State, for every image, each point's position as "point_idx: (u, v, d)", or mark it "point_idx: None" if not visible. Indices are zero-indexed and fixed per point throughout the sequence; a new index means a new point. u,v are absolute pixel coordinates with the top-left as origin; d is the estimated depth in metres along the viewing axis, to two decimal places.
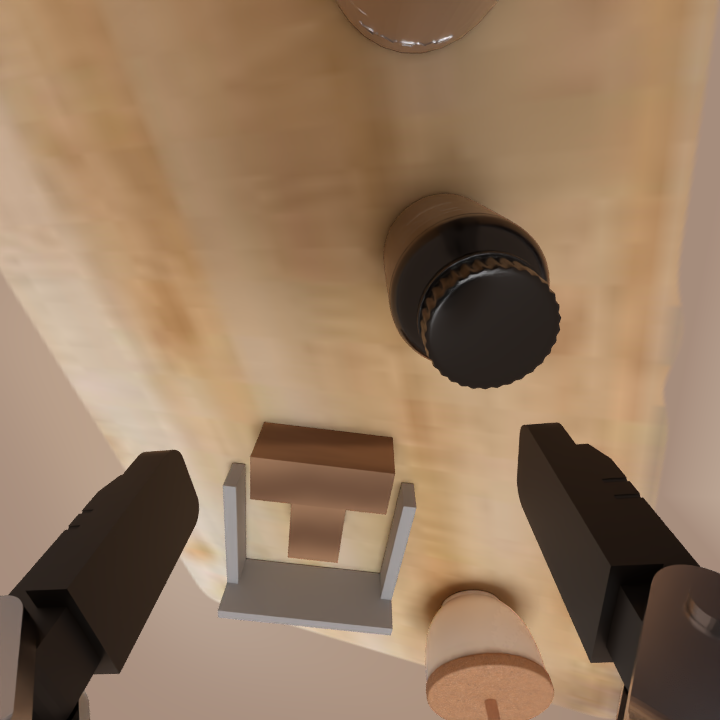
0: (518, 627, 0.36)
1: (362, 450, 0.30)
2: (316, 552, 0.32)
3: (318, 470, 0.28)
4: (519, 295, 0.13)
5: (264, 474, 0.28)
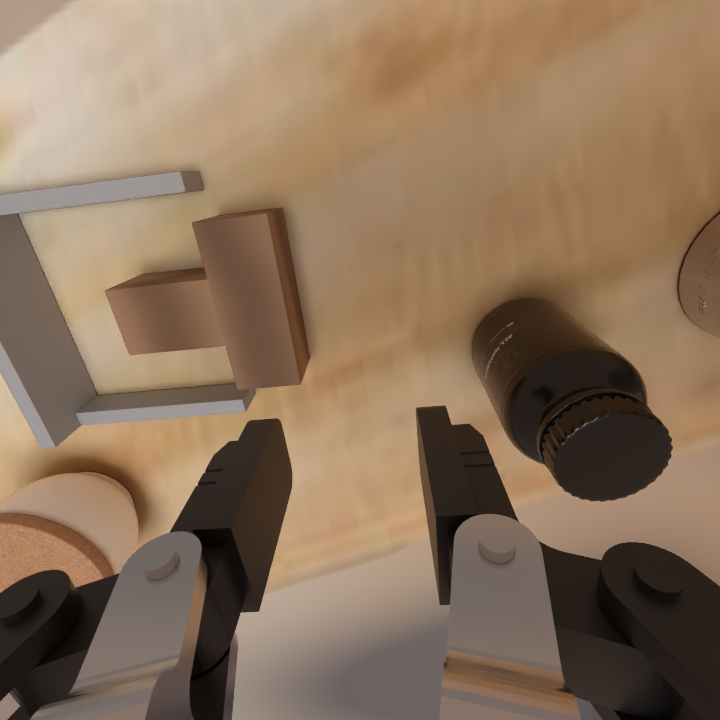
0: (131, 555, 0.32)
1: (299, 337, 0.26)
2: (133, 326, 0.24)
3: (275, 302, 0.23)
4: (646, 467, 0.17)
5: (243, 236, 0.21)
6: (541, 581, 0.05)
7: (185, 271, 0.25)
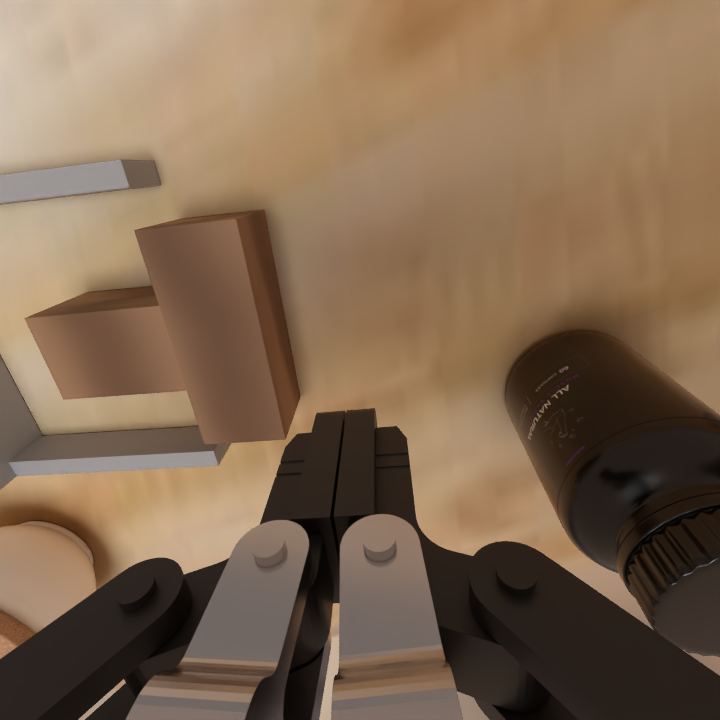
0: None
1: (285, 376, 0.20)
2: (66, 363, 0.18)
3: (250, 336, 0.17)
4: None
5: (205, 249, 0.15)
6: (410, 578, 0.05)
7: (139, 290, 0.20)
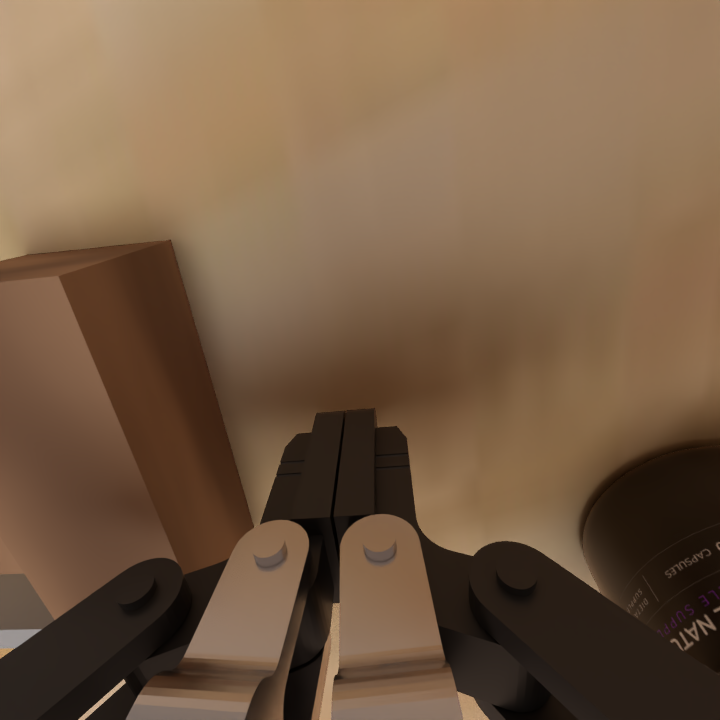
0: None
1: (219, 521, 0.12)
2: None
3: (125, 494, 0.09)
4: None
5: (4, 338, 0.07)
6: (409, 578, 0.05)
7: None
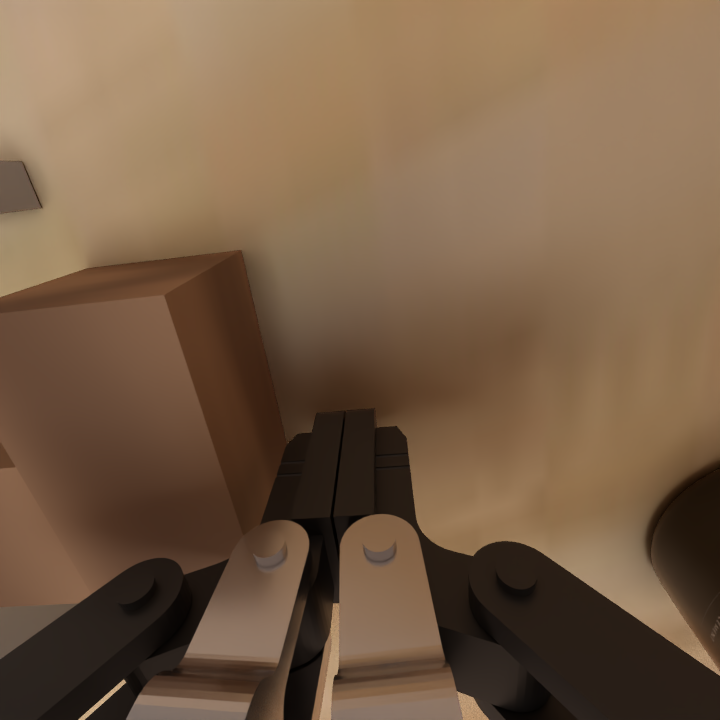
0: None
1: None
2: None
3: (212, 520, 0.08)
4: None
5: (98, 360, 0.07)
6: (409, 578, 0.05)
7: None
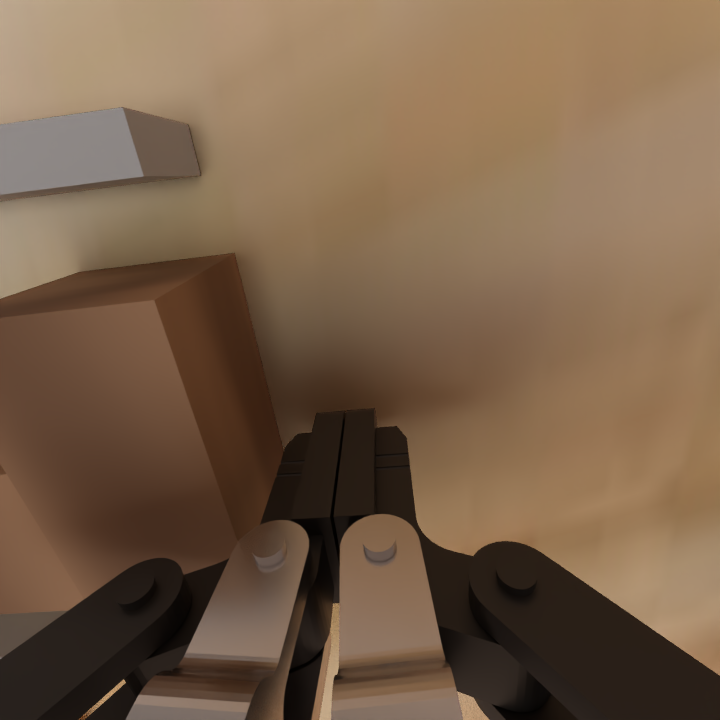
0: None
1: None
2: None
3: (206, 526, 0.08)
4: None
5: (88, 366, 0.07)
6: (409, 578, 0.05)
7: None
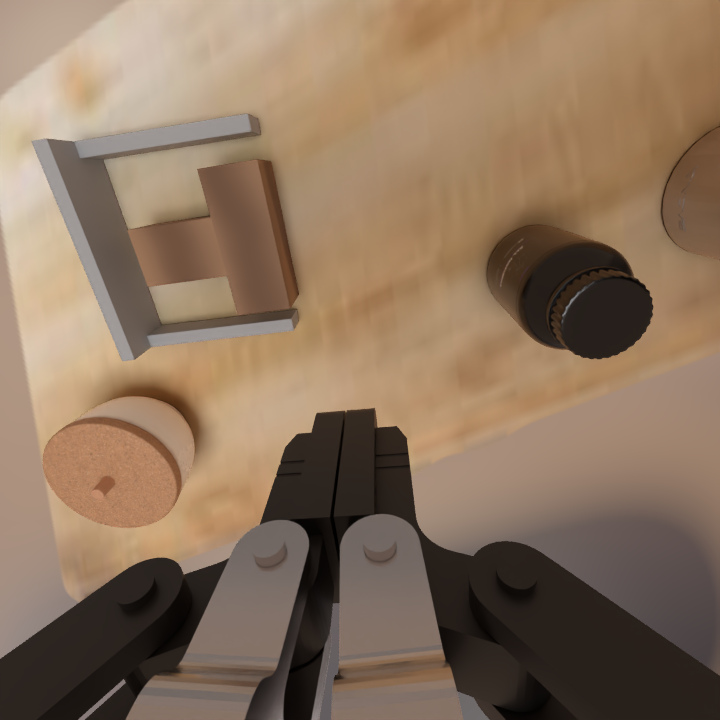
0: (191, 466, 0.36)
1: (288, 271, 0.31)
2: (151, 260, 0.29)
3: (266, 235, 0.28)
4: (633, 325, 0.21)
5: (239, 179, 0.26)
6: (409, 578, 0.05)
7: (192, 218, 0.30)
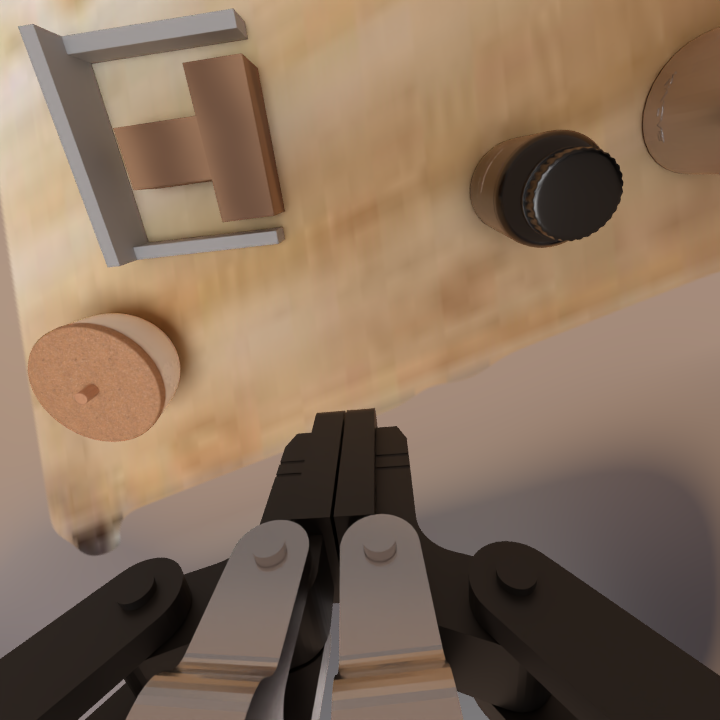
0: (176, 386, 0.37)
1: (273, 182, 0.31)
2: (136, 161, 0.29)
3: (250, 136, 0.28)
4: (604, 203, 0.22)
5: (223, 74, 0.27)
6: (409, 578, 0.05)
7: None
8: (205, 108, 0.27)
